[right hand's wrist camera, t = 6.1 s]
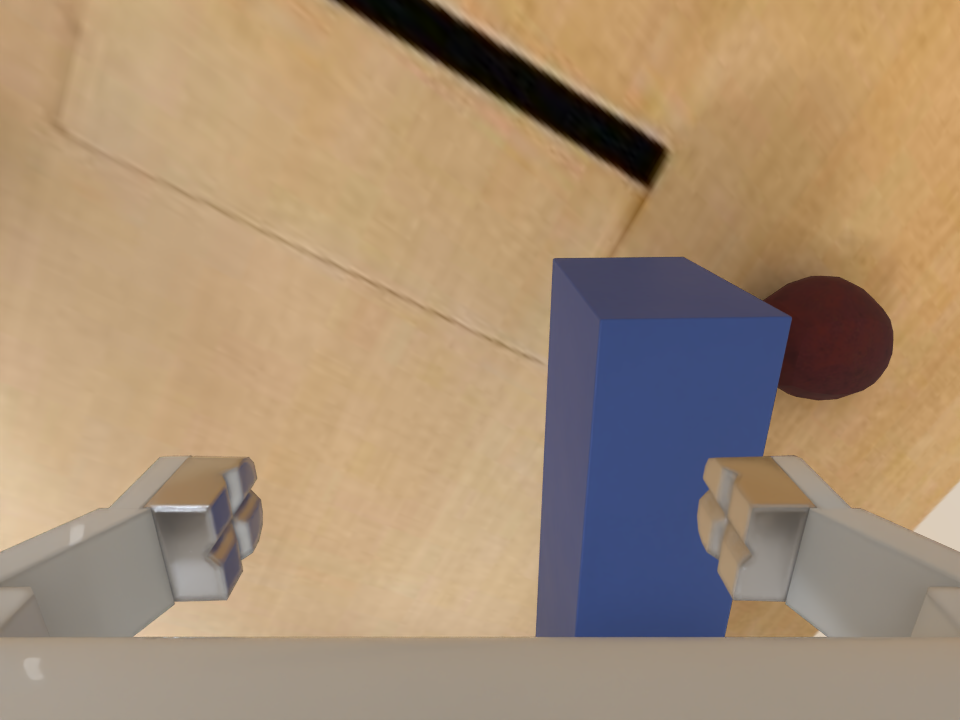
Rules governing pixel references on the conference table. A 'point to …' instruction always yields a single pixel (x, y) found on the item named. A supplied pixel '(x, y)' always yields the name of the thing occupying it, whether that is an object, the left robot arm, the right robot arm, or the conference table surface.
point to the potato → (831, 338)
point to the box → (645, 440)
